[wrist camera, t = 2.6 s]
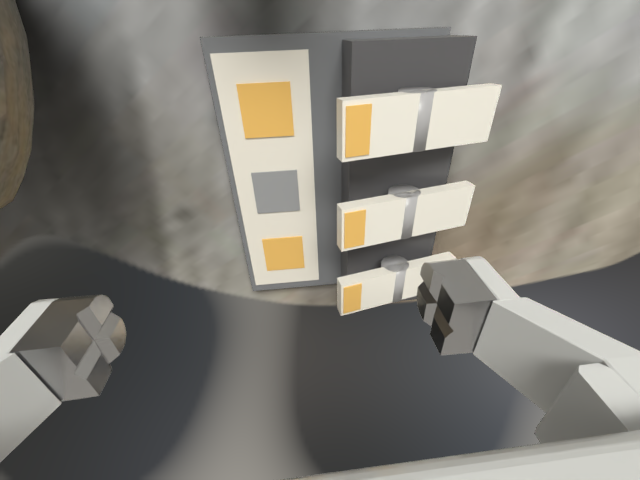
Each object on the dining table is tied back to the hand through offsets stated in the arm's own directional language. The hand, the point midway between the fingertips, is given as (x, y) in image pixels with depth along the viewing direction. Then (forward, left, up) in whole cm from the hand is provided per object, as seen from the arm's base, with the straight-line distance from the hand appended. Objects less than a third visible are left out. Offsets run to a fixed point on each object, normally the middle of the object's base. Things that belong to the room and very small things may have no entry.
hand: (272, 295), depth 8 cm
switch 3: (-9, +13, -16) cm, 23 cm away
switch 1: (-9, -1, -16) cm, 18 cm away
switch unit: (-4, +6, -22) cm, 23 cm away
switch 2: (-9, +6, -16) cm, 19 cm away
